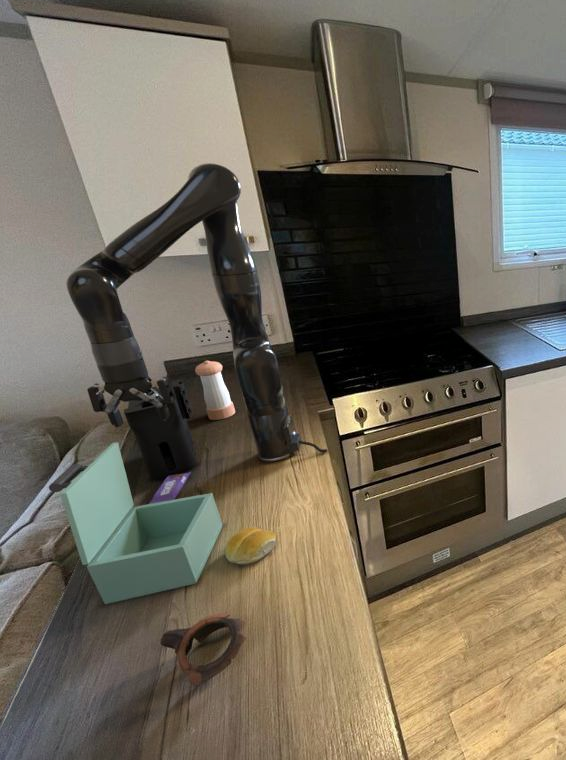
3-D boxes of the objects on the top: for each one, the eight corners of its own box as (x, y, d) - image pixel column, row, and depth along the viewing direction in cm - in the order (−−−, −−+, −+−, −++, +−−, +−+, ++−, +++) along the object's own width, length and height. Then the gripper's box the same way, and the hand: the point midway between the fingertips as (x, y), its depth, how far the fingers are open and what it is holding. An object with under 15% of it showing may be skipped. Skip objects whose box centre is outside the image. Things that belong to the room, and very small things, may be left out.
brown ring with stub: (260, 621, 76) (252, 609, 71) (236, 688, 70) (226, 681, 64) (181, 618, 74) (167, 605, 68) (148, 688, 67) (130, 681, 61)
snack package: (172, 496, 103) (146, 501, 102) (175, 503, 104) (149, 507, 102) (190, 468, 113) (167, 472, 112) (192, 474, 114) (169, 478, 113)
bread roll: (251, 531, 96) (247, 517, 94) (284, 540, 93) (280, 526, 92) (215, 560, 88) (210, 544, 87) (249, 571, 86) (245, 555, 84)
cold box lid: (118, 442, 85) (84, 444, 83) (66, 493, 71) (24, 497, 69) (133, 504, 90) (102, 508, 88) (88, 564, 76) (49, 569, 74)
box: (222, 525, 97) (212, 492, 94) (196, 583, 83) (183, 546, 80) (146, 541, 93) (132, 507, 90) (104, 604, 79) (86, 566, 76)
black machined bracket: (150, 485, 110) (121, 407, 102) (151, 449, 125) (125, 379, 117) (207, 467, 117) (184, 393, 109) (201, 435, 132) (180, 368, 124)
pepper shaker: (222, 421, 140) (206, 366, 133) (203, 419, 141) (186, 364, 134) (240, 410, 147) (226, 357, 140) (221, 408, 148) (206, 356, 141)
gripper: (67, 368, 90) (95, 435, 96) (151, 360, 95) (172, 425, 101) (88, 355, 97) (113, 419, 103) (165, 349, 101) (185, 410, 107)
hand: (142, 422), depth 102 cm, fingers open, 8 cm apart
